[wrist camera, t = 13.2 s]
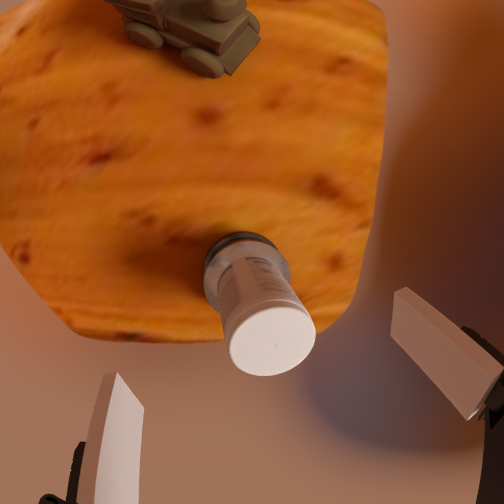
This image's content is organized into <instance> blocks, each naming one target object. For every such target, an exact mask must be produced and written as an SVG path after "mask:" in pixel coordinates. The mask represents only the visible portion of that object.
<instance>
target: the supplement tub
mask: <svg viewBox="0 0 504 504" xmlns="http://www.w3.org/2000/svg"><path fill="white" fill-rule="evenodd" d="M217 294H218V301H219V307H220V313H221V319H222V325H223V331H224V337H225V342H226V346H227V349H228V352H229V354H230V357H231V360H232V361H233V363H234V364H235V365H236V366H237V367H238V368H239V369H241V370H242V371H244V372H246V373H249V374H252V375H258V376H270V375H275V374H280V373H283V372H285V371H288V370H290V369H292V368H293V367H295V366H296V365H298V364H299V363H300V362H301V361H303V359H304V358H305V357H306V356H307V355H308V354H309V352H310V351H311V349H312V347H313V344H314V341H315V327H314V324H313V322H312V320H311V317H310V315H309V313H308V312H307V310H306V309H305V307H304V306H303V304H302V303H301V301H300V300H299V298H298V297H297V296H296V294H295V293H294V291H293V290H292V288H291V287H290V285H289V284H288V283H287V281H286V280H285V278H284V277H283V275H282V274H281V272H280V271H279V270H278V268H277V267H276V266H275V265H274V264H273V263H272V262H271V261H270V260H268V259H266V258H264V257H261V256H257V255H247V256H242V257H239V258H237V259H235V260H233V261H232V262H230V263H229V264H228V265H227V266H226V267H225V268H224V269H223V271H222V272H221V274H220V276H219V278H218V282H217Z"/></svg>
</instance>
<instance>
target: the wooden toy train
mask: <svg viewBox="0 0 504 504" xmlns="http://www.w3.org/2000/svg"><path fill="white" fill-rule="evenodd" d="M103 1H106V2H108V3H111V4H113V6H114V7H115V8H116V9H117V10H118V11H119V12H120V13H121V14H123V15H124V16H123V17H122V20H123V21H124V23H125V27H124V33H125V34H126V35H127V36H128V37H129V38H130V39H131V40H133V41H134V42H136V43H138V44H139V45H142V46H144V47H146V48H149V49H158V48H160V47H161V46H163V43H164V42H166V43H168V44H170V45H172V46H175V47H177V48H179V49H181V54H180V58H181V60H182V61H183V62H184V63H185V64H186V65H187V66H188V67H189V68H191V69H192V70H194V71H195V72H197V73H199V74H201V75H203V76H205V77H208V78H212V79H215V78H219V77H221V76H222V75H223V74H224V73H226V74H227V75H229V76H231V75H232V74H233V72H234V71H235V70H236V69H237V67H238V66H239V65H240V64H241V63H242V61H243V60H244V59H245V58H246V57H247V55H248V54H249V53H250V52H251V51H252V50H253V49H254V47H255V46H256V45H257V44H258V43H259V42H260V40H261V38H260V37H259V36H258V34H259V31H260V25H259V22H258V20H257V19H256V17H255V16H254V15H253V14H252V13H250V12H249V11H247V10H246V7H247V3H246V1H245V0H103Z"/></svg>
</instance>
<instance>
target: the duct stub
mask: <svg viewBox="0 0 504 504" xmlns="http://www.w3.org/2000/svg"><path fill="white" fill-rule="evenodd" d="M247 255H257V256H261V257H264V258H266V259H268V260H270V261H271V262H272V263H273V264H274V265H275V266H276V267H277V268H278V270H279V271H280V272H281V274H282V275H283V277H284V278H285V280H286V281H287V283H288V284H289V285H290V270H289V266H288V264H287V262H286V260H285V259H284V257H283V256H282V255H281V253H280V252H279V251H278V249H277V248H276V247H275V245H274V244H273V243H272V242H271V241H270V240H268V239H267V238H265V237H264V236H262V235H260V234H257V233H253V232H237V233H233V234H230V235H227V236H225V237H223V238H222V239H220V240H219V241H217V242H216V243H215V244H214V245H213V246H212V248H211V249H210V250H209V252H208V254H207V256H206V258H205V261H204V267H203V276H204V292H205V295H206V298H207V300H208V302H209V303H210V305H211V306H212V307H213V308H214V309H215V310H216V311H217V312H219V313H220V307H219V301H218V294H217V282H218V278H219V276H220V274H221V272H222V271H223V269H224V268H225V267H226V266H227V265H228V264H229V263H230V262H232V261H233V260H235V259H237V258H239V257H242V256H247ZM220 314H221V313H220Z"/></svg>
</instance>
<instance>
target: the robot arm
mask: <svg viewBox="0 0 504 504" xmlns="http://www.w3.org/2000/svg"><path fill="white" fill-rule="evenodd" d="M390 336H391V337H392V338H393V339H394V340H395V341H396V342H397V343H398V344H399V345H400V346H401V347H402V348H403V349H404V350H405V351H406V352H407V353H408V355H409V356H410V357H411V358H412V359H413V360H414V361H415V362H416V363H417V364H418V366H419V367H420V368H421V369H422V370H423V371H424V372H425V373H426V374H427V375H428V377H429V378H430V379H431V380H432V381H433V382H434V383H435V384H436V385H437V387H438V388H439V389H440V390H441V391H442V392H443V393H444V395H445V396H446V397H447V398H448V399H449V400H450V401H451V403H452V404H453V405H454V406H455V407H456V408H457V410H458V411H459V412H460V413H461V414H462V415H463V417H464V418H465V419H466V420H468V419H470V418H471V417H472V416H473V415H474V414H475V413H476V412H477V411H478V410H479V409H480V408H481V406H482V405H483V403H485V404H486V407H485V408H484V410H483V411H482V412H481V414H480V415H479V419H478V420H479V421H480V420H481V419H482V417H483V416H484V415H485V417H484V419H483V420H485V438H484V452H483V463H482V471H481V478H480V484H479V490H478V495H477V500H476V504H504V355H503V354H502V353H501V352H500V351H498V350H497V349H496V348H495V347H494V346H493V345H491V344H490V343H488V341H487V340H486V339H484V338H482V336H481V335H480V334H478V333H477V332H476V331H475V330H473V329H470V328H468V327H465V326H463V327H462V328H458V327H457V326H456V325H455V324H454V323H452V322H451V321H450V320H449V319H447V318H446V317H445V316H444V315H442V314H441V313H440V312H439V311H437V310H436V309H435V308H433V307H432V306H431V305H430V304H428V303H427V302H426V301H425V300H423V299H422V298H421V297H419V296H418V295H417V294H415V293H414V292H413V291H411V290H410V289H409V288H407V287H405V288H402V289H400V290H398V291H396V292H395V294H394V306H393V317H392V327H391V334H390ZM143 414H144V407H143V406H142V405H141V403H140V402H139V401H138V400H137V398H136V397H135V396H134V395H133V393H132V392H131V391H130V389H129V388H128V386H127V385H126V384H125V382H124V381H123V380H122V378H121V377H120V375H119V374H118V372H113V373H107V374H104V375H103V378H102V381H101V385H100V388H99V392H98V395H97V399H96V403H95V406H94V411H93V414H92V418H91V422H90V427H89V431H88V435H87V440H86V442H80V443H79V444H78V446H77V448H76V449H75V451H74V457H73V463H72V466H71V470H72V471H71V472H70V477H69V483H68V490H67V497H66V501H64V500H62V499H60V498H58V497H57V496H55V495H53V494H46V495H44V496H42V497H41V499H40V501H39V504H139V466H140V465H139V464H140V449H141V435H142V424H143Z"/></svg>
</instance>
